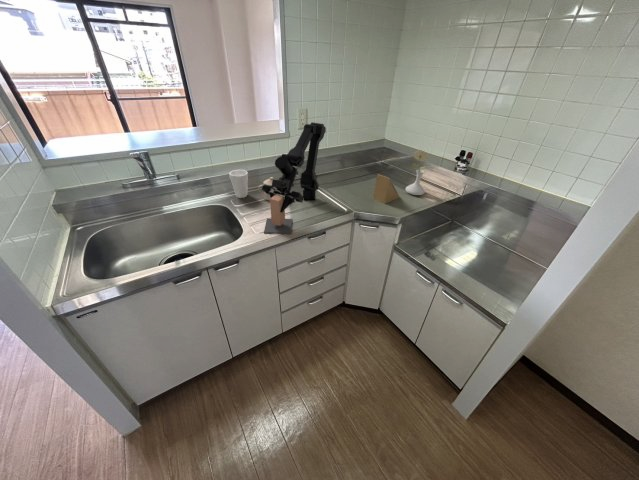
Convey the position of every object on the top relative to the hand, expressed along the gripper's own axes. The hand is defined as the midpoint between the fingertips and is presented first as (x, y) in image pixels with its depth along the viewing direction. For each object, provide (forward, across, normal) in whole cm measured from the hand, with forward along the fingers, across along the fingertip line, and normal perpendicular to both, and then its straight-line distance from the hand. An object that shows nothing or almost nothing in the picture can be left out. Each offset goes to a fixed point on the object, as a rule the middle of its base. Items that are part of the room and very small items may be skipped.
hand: (276, 211), depth 116 cm
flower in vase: (-45, +52, +58) cm, 90 cm away
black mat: (+5, 0, +7) cm, 9 cm away
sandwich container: (-34, +39, +47) cm, 70 cm away
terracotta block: (+4, 0, +6) cm, 7 cm away
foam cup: (-7, -35, +20) cm, 41 cm away
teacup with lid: (-11, -20, +24) cm, 33 cm away
